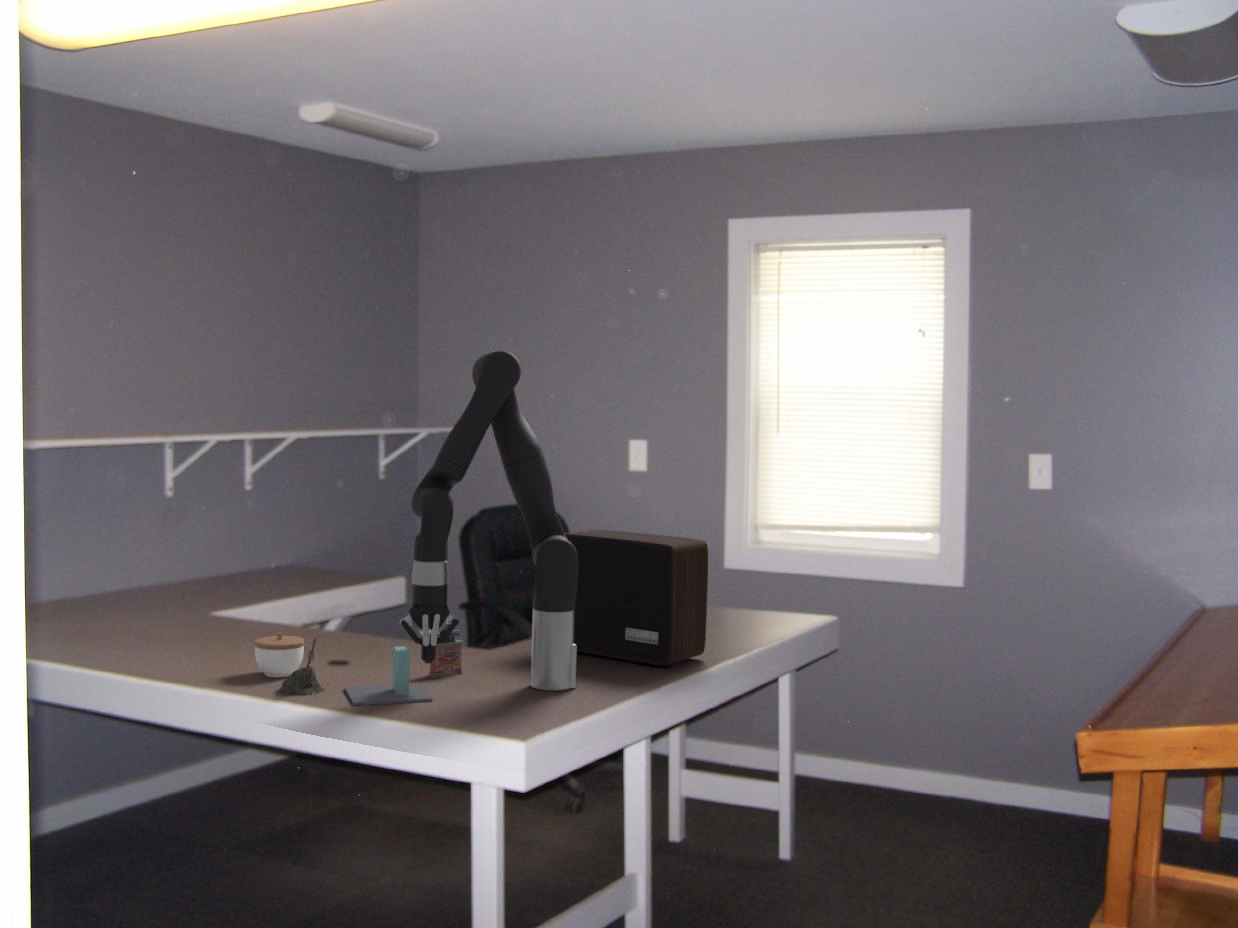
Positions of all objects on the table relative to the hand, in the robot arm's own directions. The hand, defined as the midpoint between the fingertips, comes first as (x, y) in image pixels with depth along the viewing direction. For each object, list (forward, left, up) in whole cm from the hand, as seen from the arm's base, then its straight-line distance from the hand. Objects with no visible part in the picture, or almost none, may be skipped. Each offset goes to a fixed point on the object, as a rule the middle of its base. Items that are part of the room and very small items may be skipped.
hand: (428, 662), depth 259 cm
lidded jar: (+28, -25, -7) cm, 38 cm away
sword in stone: (+25, -9, -7) cm, 28 cm away
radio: (-57, -29, -7) cm, 64 cm away
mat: (+8, 0, -7) cm, 11 cm away
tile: (+6, 0, -6) cm, 8 cm away
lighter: (-8, -17, -7) cm, 20 cm away
